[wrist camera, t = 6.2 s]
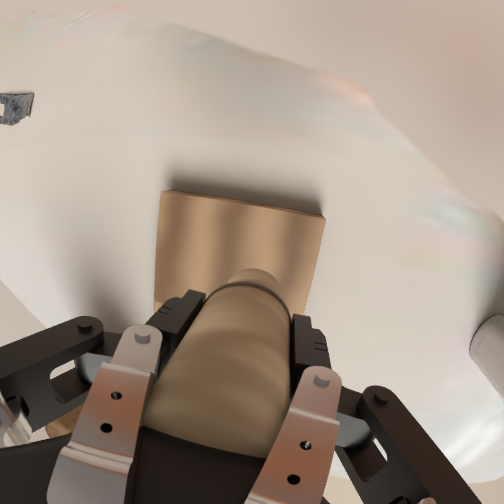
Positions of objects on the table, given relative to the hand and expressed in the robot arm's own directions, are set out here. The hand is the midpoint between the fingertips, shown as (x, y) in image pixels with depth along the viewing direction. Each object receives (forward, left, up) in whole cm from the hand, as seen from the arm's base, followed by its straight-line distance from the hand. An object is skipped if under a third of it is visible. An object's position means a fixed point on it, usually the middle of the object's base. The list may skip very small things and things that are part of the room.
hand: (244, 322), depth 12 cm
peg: (0, 0, -3) cm, 3 cm away
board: (+4, +8, -21) cm, 23 cm away
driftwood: (+54, -17, -22) cm, 60 cm away
